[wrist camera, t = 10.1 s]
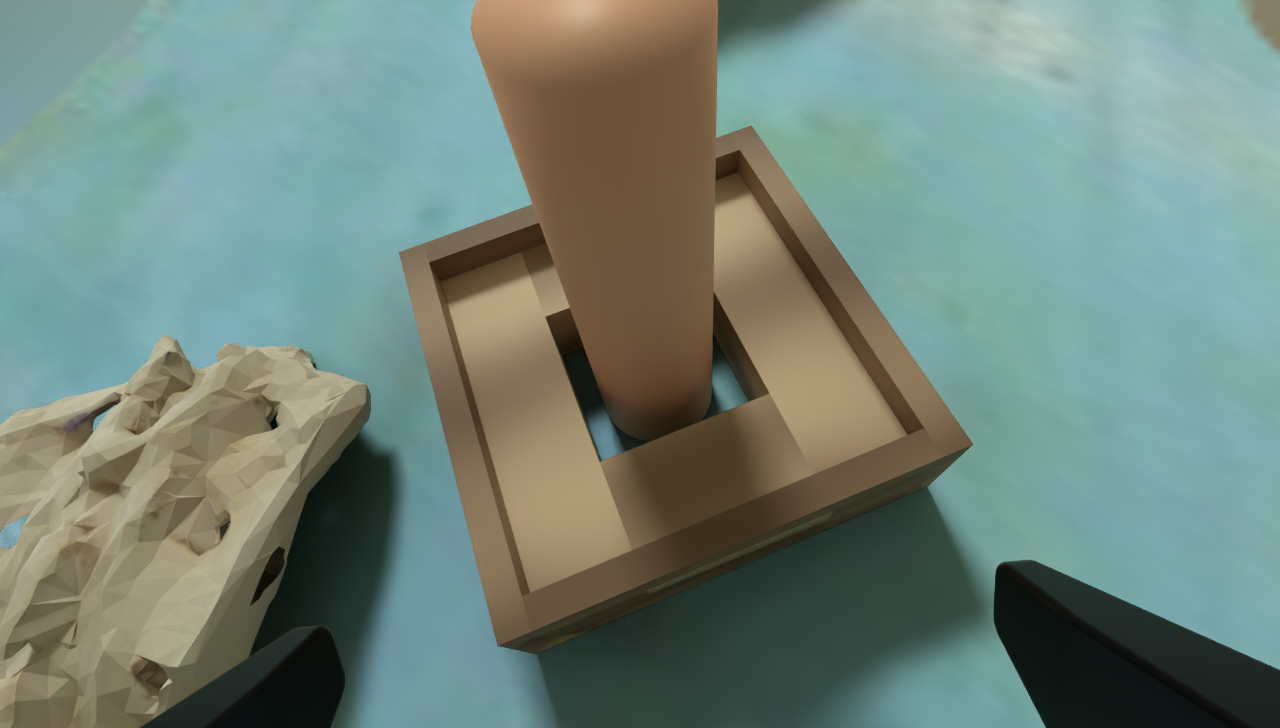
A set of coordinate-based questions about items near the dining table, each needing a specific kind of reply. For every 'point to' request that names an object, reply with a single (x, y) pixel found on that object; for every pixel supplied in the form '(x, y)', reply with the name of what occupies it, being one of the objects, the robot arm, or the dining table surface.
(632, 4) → the peg
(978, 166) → the dining table surface
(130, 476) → the coral
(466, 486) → the tray box
